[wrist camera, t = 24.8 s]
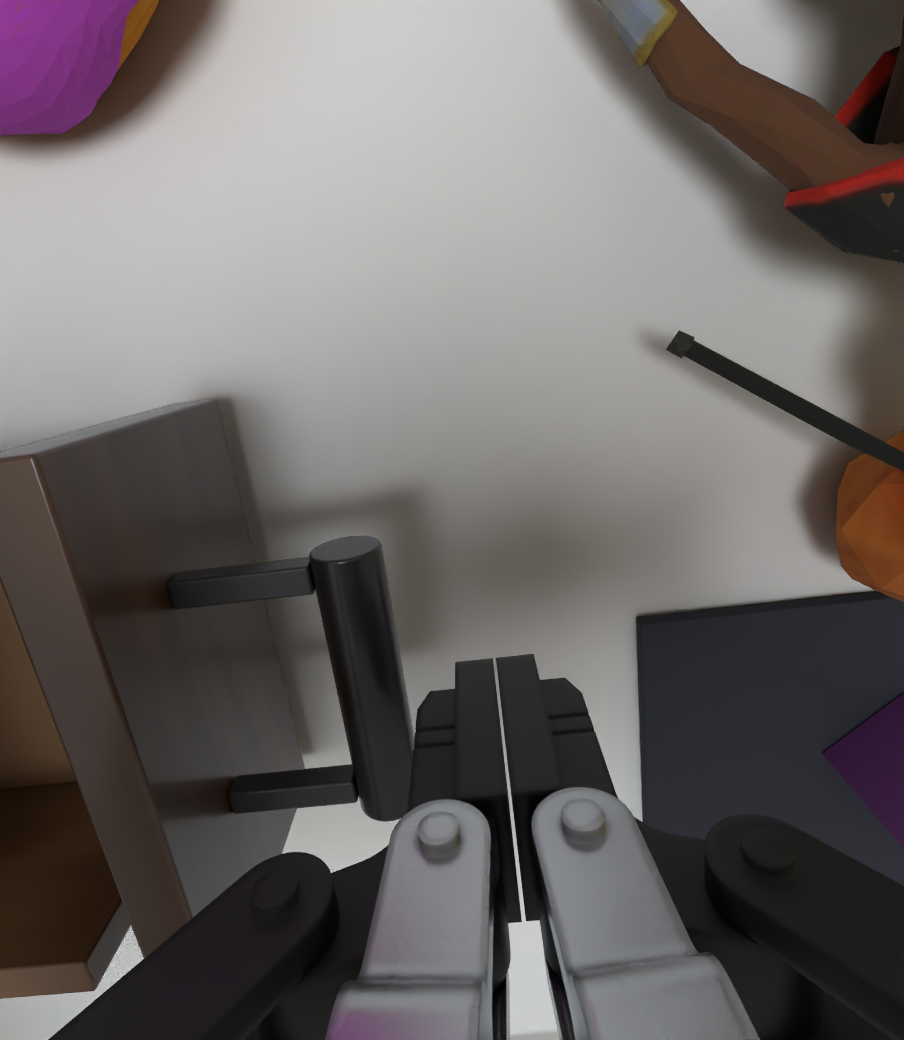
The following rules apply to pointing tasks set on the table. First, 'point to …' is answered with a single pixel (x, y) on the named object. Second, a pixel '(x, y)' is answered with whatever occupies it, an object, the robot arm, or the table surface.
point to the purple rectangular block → (876, 765)
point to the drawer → (162, 691)
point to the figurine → (817, 202)
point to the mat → (767, 715)
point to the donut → (62, 58)
